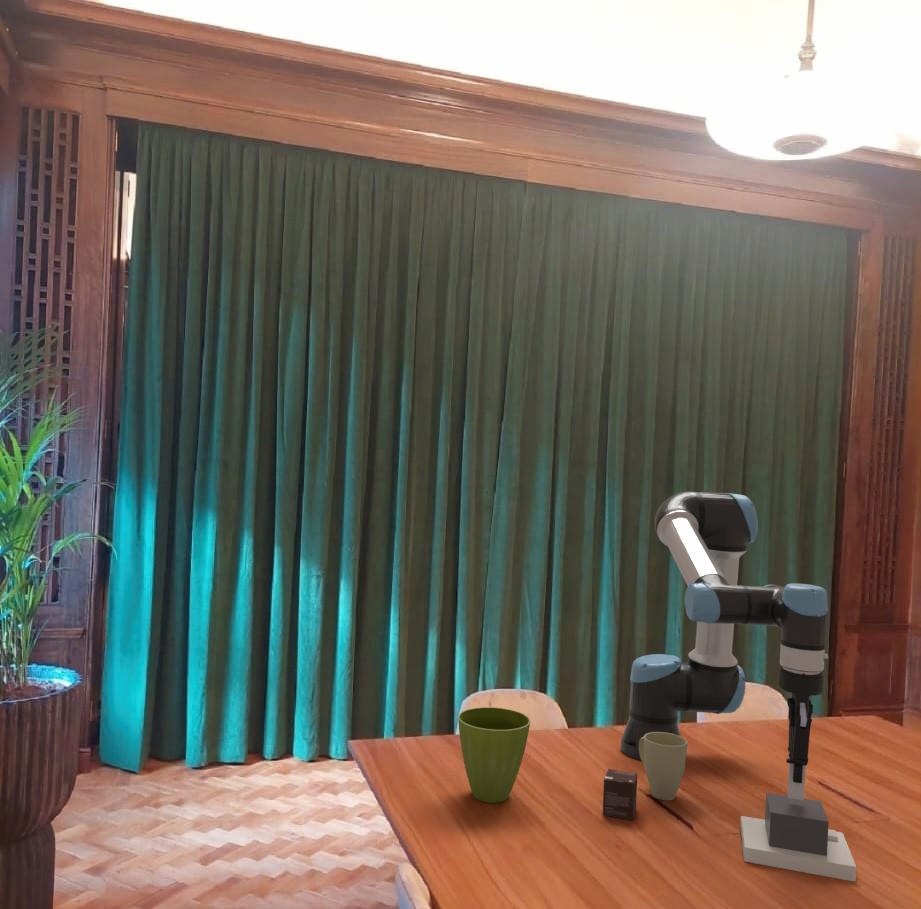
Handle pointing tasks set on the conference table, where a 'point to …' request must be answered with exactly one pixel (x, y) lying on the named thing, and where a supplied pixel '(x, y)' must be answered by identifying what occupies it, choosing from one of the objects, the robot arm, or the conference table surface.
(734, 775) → the conference table surface
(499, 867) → the conference table surface
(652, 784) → the mug
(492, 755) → the flower pot
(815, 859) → the socket
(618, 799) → the box
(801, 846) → the plug
